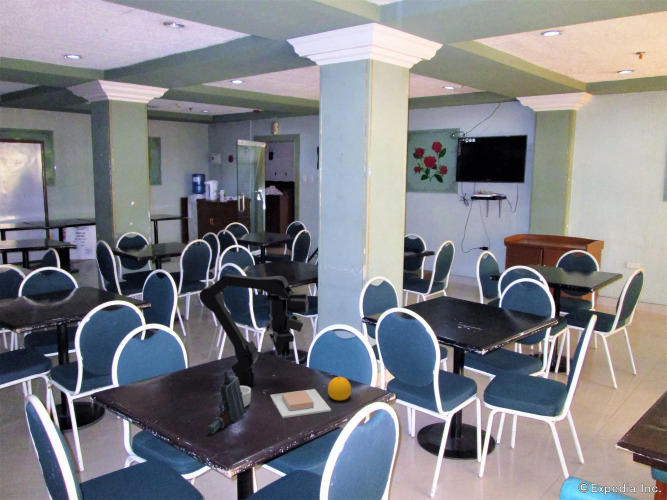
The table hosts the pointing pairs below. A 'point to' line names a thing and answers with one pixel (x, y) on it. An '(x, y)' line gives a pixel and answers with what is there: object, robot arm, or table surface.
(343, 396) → the orange
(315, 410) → the mat
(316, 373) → the table surface
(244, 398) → the teacup
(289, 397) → the tile
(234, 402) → the gun
